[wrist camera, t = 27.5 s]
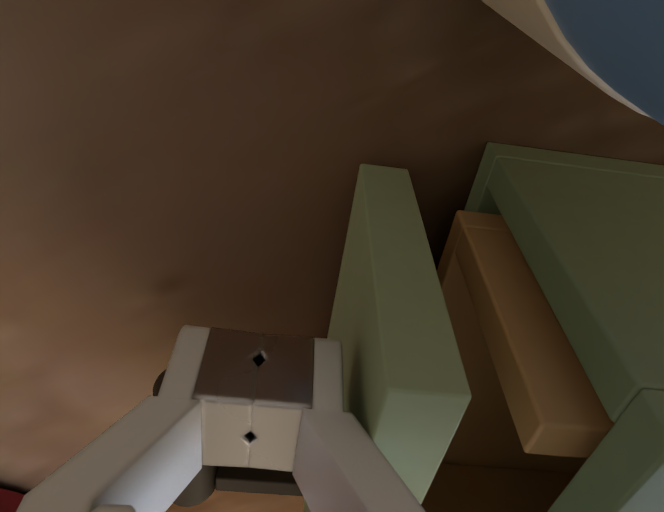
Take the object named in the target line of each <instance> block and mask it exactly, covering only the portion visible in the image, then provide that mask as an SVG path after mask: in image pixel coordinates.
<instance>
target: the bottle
mask: <svg viewBox="0 0 664 512" xmlns="http://www.w3.org/2000/svg"><path fill="white" fill-rule="evenodd" d="M481 1H482V2H484V3H485V4H486V5H488V6H489V7H490V8H492V9H493V10H494V11H496V12H497V13H498V14H500V15H501V16H502V17H504V18H505V19H506V20H508V21H509V22H510V23H512V24H513V25H515V26H516V27H517V28H519V29H520V30H521V31H523V32H524V33H525V34H527V35H528V36H529V37H531V38H532V39H533V40H535V41H536V42H537V43H539V44H540V45H541V46H543V47H544V48H545V49H547V50H548V51H550V52H551V53H552V54H554V55H555V56H556V57H558V58H559V59H560V60H562V61H563V62H564V63H566V64H567V65H568V66H570V67H571V68H572V69H574V70H575V71H576V72H578V73H579V74H581V75H582V76H583V77H585V78H586V79H587V80H589V81H590V82H591V83H593V84H594V85H595V86H597V87H598V88H599V89H601V90H602V91H603V92H605V93H606V94H607V95H609V96H611V97H612V98H614V99H616V100H617V101H619V102H621V103H622V104H624V105H626V106H627V107H629V108H631V109H632V110H634V111H636V112H637V113H640V114H642V115H645V116H647V117H650V118H652V119H654V120H656V121H657V122H659V123H660V124H662V125H663V126H664V0H481Z"/></svg>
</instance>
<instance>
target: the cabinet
mask: <svg viewBox="0 0 664 512" xmlns="http://www.w3.org/2000/svg"><path fill="white" fill-rule="evenodd" d="M464 211H471V212H479V213H487V214H495V215H502V216H503V218H504V220H505V222H506V224H507V226H508V227H509V229H510V231H511V233H512V235H513V237H514V239H515V241H516V243H517V244H518V246H519V248H520V250H521V252H522V254H523V256H524V258H525V260H526V261H527V263H528V265H529V267H530V269H531V271H532V273H533V275H534V277H535V278H536V280H537V282H538V284H539V286H540V288H541V290H542V292H543V294H544V295H545V297H546V299H547V301H548V303H549V305H550V307H551V309H552V311H553V312H554V314H555V316H556V318H557V320H558V322H559V324H560V326H561V328H562V329H563V331H564V333H565V335H566V337H567V339H568V341H569V343H570V345H571V346H572V348H573V350H574V352H575V354H576V356H577V358H578V360H579V362H580V363H581V365H582V367H583V369H584V371H585V373H586V375H587V377H588V379H589V380H590V382H591V384H592V386H593V388H594V390H595V392H596V394H597V395H598V397H599V399H600V401H601V403H602V405H603V407H604V409H605V411H606V412H607V414H608V416H609V418H610V420H611V421H613V422H615V424H614V425H613V426H612V428H611V429H610V430H609V432H608V433H607V434H606V436H605V437H604V438H603V439H602V441H601V442H600V443H599V445H598V446H597V447H596V449H595V450H594V451H593V452H592V454H591V455H590V456H589V458H588V459H587V460H586V462H585V463H584V464H583V465H582V467H581V468H580V469H579V471H578V472H577V473H576V475H575V476H574V477H573V479H572V480H571V481H570V482H569V484H568V485H567V486H566V488H565V489H564V490H563V492H562V493H561V494H560V495H559V497H558V498H557V499H556V501H555V502H554V503H553V505H552V506H551V507H550V508H549V510H548V511H547V512H664V165H657V164H649V163H642V162H634V161H627V160H619V159H612V158H604V157H597V156H589V155H582V154H575V153H567V152H560V151H552V150H545V149H537V148H530V147H522V146H515V145H507V144H500V143H492V142H488V143H487V145H486V148H485V151H484V154H483V157H482V160H481V163H480V166H479V169H478V172H477V174H476V177H475V180H474V183H473V186H472V189H471V192H470V195H469V198H468V201H467V204H466V207H465V209H464Z"/></svg>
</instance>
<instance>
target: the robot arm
mask: <svg viewBox="0 0 664 512" xmlns="http://www.w3.org/2000/svg"><path fill="white" fill-rule="evenodd" d="M202 465H208V466H230V467H250V468H260V469H270V470H280V471H290V472H293V473H292V475H293V477H294V479H295V481H296V483H297V485H298V487H299V489H300V491H301V493H302V495H303V497H304V499H305V501H306V503H307V505H308V507H309V509H310V511H311V512H426V511H425V510H424V508H423V507H422V506H421V504H420V503H419V502H418V500H417V499H416V498H415V496H414V495H413V494H412V492H411V491H410V489H409V488H408V487H407V485H406V484H405V483H404V481H403V480H402V479H401V477H400V476H399V475H398V473H397V472H396V471H395V469H394V468H393V467H392V465H391V464H390V463H389V461H388V460H387V459H386V457H385V456H384V454H383V453H382V452H381V450H380V449H379V448H378V446H377V445H376V444H375V442H374V441H373V440H372V439H371V437H370V436H369V434H368V433H367V432H366V430H365V429H364V428H363V426H362V425H361V423H360V422H359V421H358V419H357V418H356V417H355V415H354V414H353V413H350V412H344V383H343V353H342V342H341V340H338V339H327V338H315V337H314V339H313V337H303V336H291V335H280V334H268V333H255V332H246V331H238V330H230V329H221V328H213V327H212V328H208V327H200V326H192V325H184V326H183V327H182V328H181V330H180V332H179V334H178V337H177V340H176V343H175V346H174V349H173V352H172V355H171V358H170V361H169V364H168V367H167V370H166V373H165V376H164V379H163V382H162V385H161V388H160V391H159V393H158V396H148V397H147V398H145V399H144V400H143V401H142V402H140V403H139V404H138V405H137V406H135V407H134V408H133V409H132V410H130V411H129V412H128V413H127V414H125V415H124V416H123V417H122V418H120V419H119V420H118V421H117V422H115V423H114V424H113V425H112V426H110V427H109V428H108V429H107V430H105V431H104V432H103V433H102V434H100V435H99V436H98V437H97V438H95V439H94V440H93V441H92V442H90V443H89V444H88V445H87V446H85V447H84V448H83V449H82V450H80V451H79V452H78V453H77V454H75V455H74V456H73V457H72V458H70V459H69V460H68V461H67V462H65V463H64V464H63V465H62V466H60V467H59V468H58V469H57V470H55V471H54V472H53V473H52V474H50V475H49V476H48V477H47V478H45V479H44V480H43V481H42V482H40V483H39V484H38V485H37V486H35V487H34V488H33V489H32V490H30V491H29V492H28V493H27V494H25V495H24V497H23V499H22V501H21V503H20V505H19V507H18V509H17V511H16V512H165V511H166V510H167V509H168V508H169V507H170V506H171V504H172V503H173V502H174V501H175V500H176V498H177V497H178V496H179V495H180V494H181V492H182V491H183V490H184V489H185V488H186V487H187V485H188V484H189V483H190V482H191V481H192V479H193V478H194V477H195V476H196V475H197V474H198V472H199V471H200V470H201V469H202Z"/></svg>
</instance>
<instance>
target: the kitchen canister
mask: <svg viewBox="0 0 664 512" xmlns="http://www.w3.org/2000/svg"><path fill="white" fill-rule="evenodd" d="M23 497H24V494H21V493H18V492H14V491H11V490H7V489H3V488H0V512H16V511H17V509H18V507H19V505H20V503H21V501H22V499H23Z"/></svg>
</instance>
